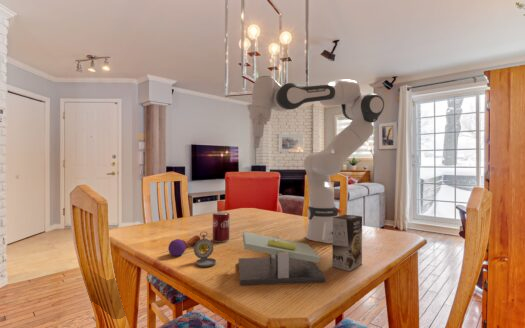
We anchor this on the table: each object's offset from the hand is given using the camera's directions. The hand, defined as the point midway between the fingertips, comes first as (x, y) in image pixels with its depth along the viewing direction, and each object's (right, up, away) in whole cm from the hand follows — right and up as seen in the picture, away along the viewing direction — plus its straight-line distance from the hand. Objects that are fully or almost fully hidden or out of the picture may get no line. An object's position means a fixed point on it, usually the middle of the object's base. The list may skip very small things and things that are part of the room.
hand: (255, 148), depth 119 cm
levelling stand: (+8, -40, -31) cm, 51 cm away
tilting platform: (+8, -33, -31) cm, 46 cm away
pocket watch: (-16, -40, -24) cm, 49 cm away
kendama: (-27, -40, -9) cm, 49 cm away
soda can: (-15, -40, +4) cm, 43 cm away
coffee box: (+31, -40, -26) cm, 57 cm away
